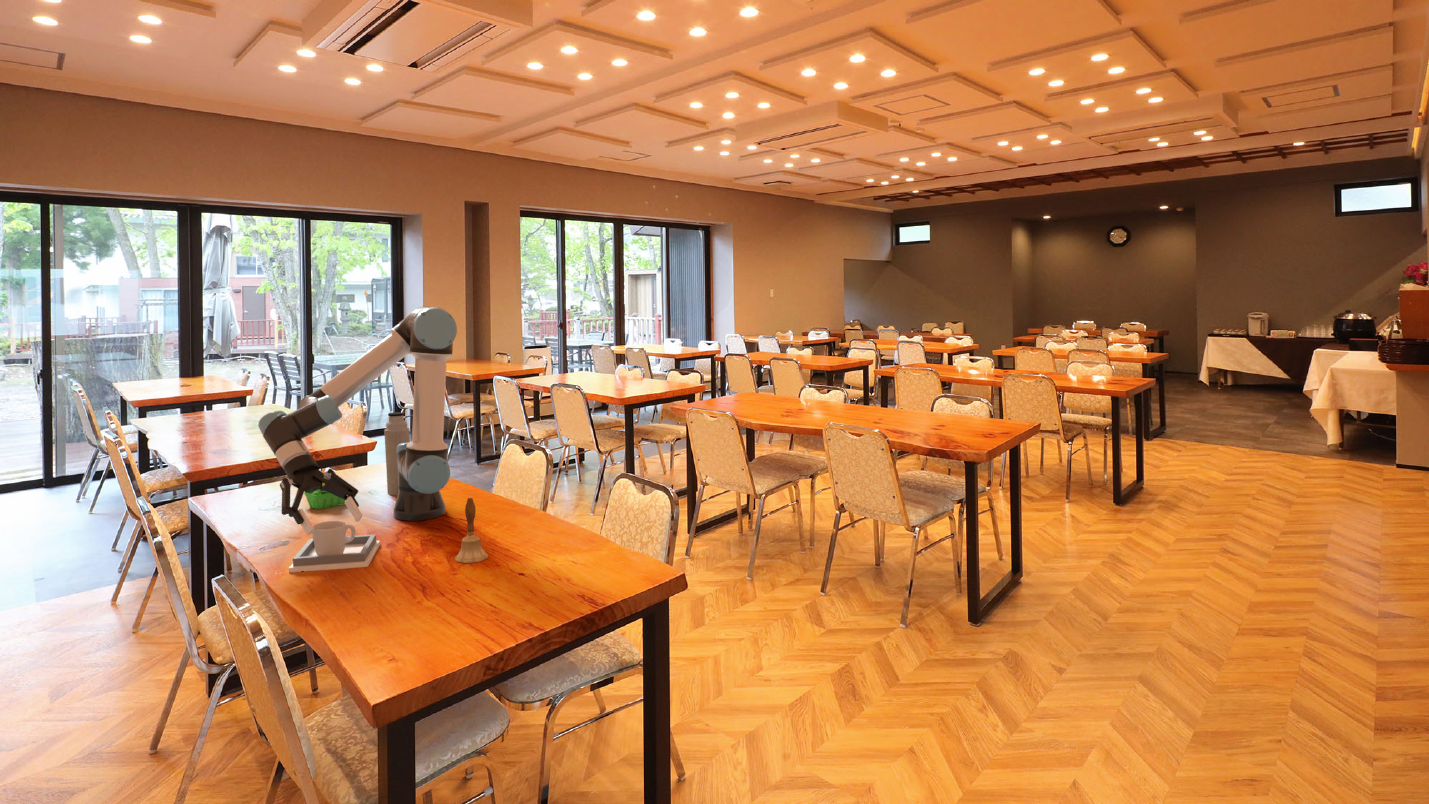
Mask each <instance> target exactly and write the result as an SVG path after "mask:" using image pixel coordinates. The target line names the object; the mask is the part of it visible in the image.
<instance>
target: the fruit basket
mask: <svg viewBox="0 0 1429 804" xmlns="http://www.w3.org/2000/svg"><path fill="white" fill-rule="evenodd" d="M325 479H326V478H325ZM324 485H325V483H323V484H322V486H324ZM303 495H304V496H305V498H306V501H307V502H308V506H309V508H312V509H314V508H315V509H316V510H323V509H327V508H326V507H328V508H331V507H330V506H332V507H337V506H341V505H340V504H342V505H346V504H345V501H346V500H344V499H342V498H340V497H338V496H335V495H333V494H331V493H329V492H327V491H322V490H317V491H311V492H308V493H307V492H304V493H303Z"/></svg>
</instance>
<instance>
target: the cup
mask: <svg viewBox="0 0 1429 804" xmlns="http://www.w3.org/2000/svg"><path fill="white" fill-rule="evenodd" d="M312 526H313V527H314V530H313V532H312V533H311V534H312V538H313V540H314V546H315V551H316V554H317V555H318V556H319V555H333V554H342V553H343V552H344V549H345V543H348V542H351V541H352V540H353V539H354V538H355V536H356V534H357V533H356V527H355V526H354V525H353V524H349V523H348V524H347V522H344V521H342V520H341V521H340V520H330V521H329V520H327V521H322V522H318V523H316V524H314V525H313V524H312ZM349 529H350V535H349V536H350V538H348V539H346V536H347V535H346V533H347V531H348V530H349Z"/></svg>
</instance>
